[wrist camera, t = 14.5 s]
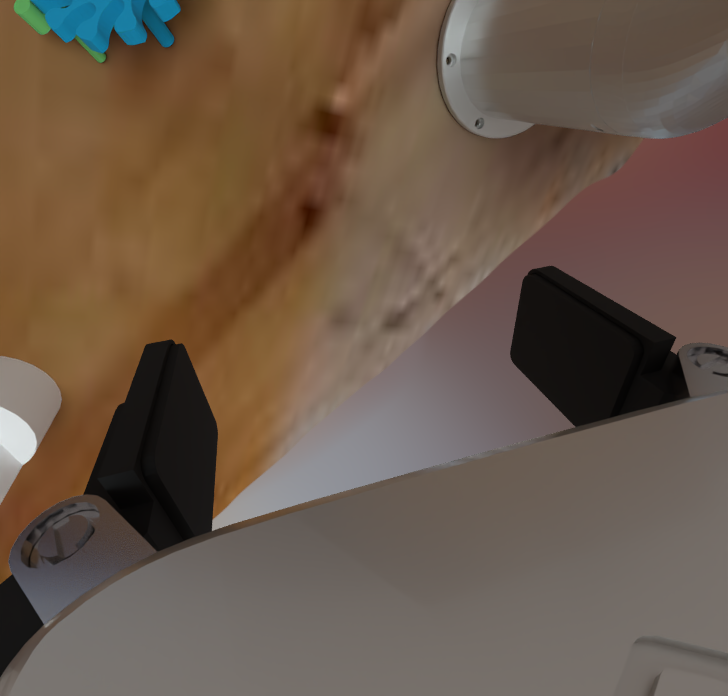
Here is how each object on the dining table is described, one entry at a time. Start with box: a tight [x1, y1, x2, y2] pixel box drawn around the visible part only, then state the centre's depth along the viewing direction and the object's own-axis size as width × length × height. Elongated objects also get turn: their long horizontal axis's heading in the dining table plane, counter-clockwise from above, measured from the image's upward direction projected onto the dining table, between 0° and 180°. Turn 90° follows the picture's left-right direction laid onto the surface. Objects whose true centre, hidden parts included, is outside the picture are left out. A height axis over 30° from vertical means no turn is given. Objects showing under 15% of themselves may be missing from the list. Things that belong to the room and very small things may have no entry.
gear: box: [14, 0, 181, 63], centre depth 24 cm, size 11×6×10 cm
